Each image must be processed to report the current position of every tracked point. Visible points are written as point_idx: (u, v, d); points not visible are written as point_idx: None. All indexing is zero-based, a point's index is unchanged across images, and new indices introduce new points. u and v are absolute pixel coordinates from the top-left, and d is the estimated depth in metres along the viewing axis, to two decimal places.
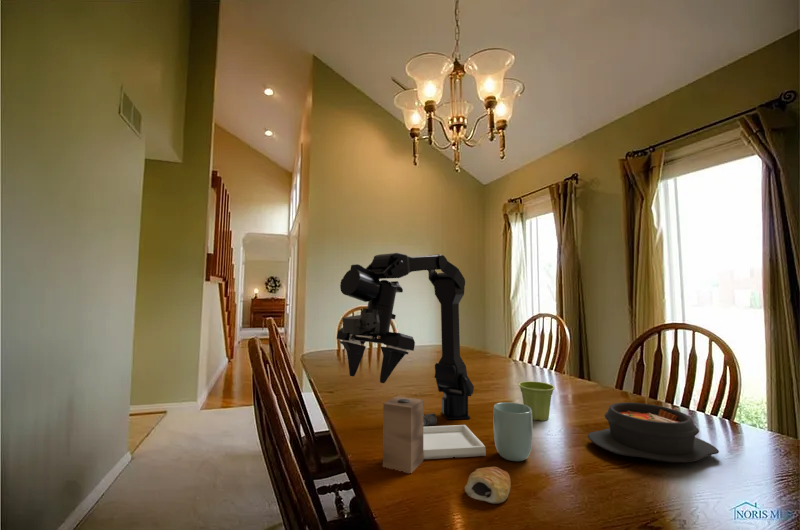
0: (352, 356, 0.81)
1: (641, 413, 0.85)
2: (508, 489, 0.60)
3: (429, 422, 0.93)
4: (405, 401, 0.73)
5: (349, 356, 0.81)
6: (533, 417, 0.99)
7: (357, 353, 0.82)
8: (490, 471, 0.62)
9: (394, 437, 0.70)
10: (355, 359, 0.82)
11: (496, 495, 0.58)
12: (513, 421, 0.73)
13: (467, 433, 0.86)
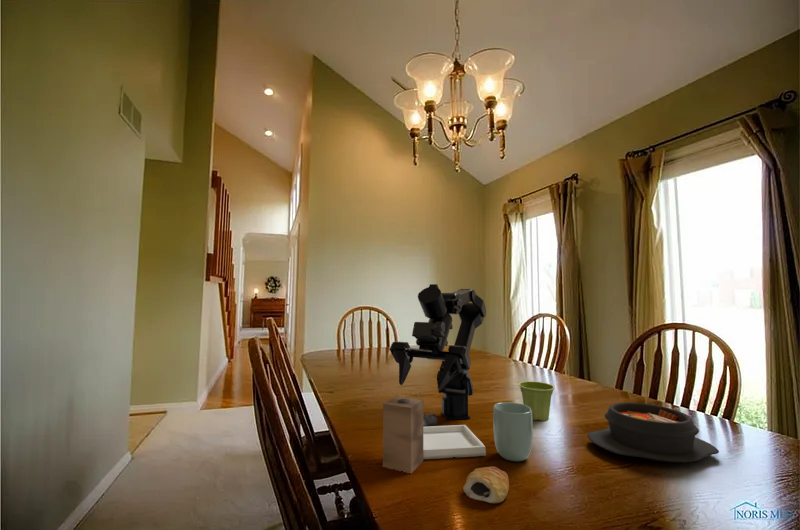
0: (404, 366, 0.85)
1: (641, 413, 0.85)
2: (507, 489, 0.61)
3: (429, 423, 0.93)
4: (405, 401, 0.73)
5: (401, 365, 0.85)
6: (533, 417, 0.99)
7: (406, 366, 0.86)
8: (489, 471, 0.63)
9: (394, 437, 0.70)
10: (405, 370, 0.85)
11: (495, 495, 0.58)
12: (513, 421, 0.73)
13: (467, 433, 0.86)
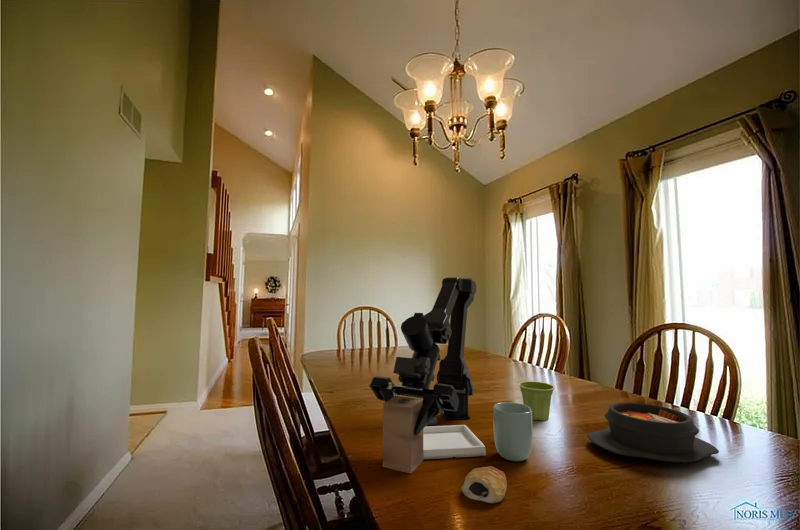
0: None
1: (641, 413, 0.85)
2: (505, 488, 0.61)
3: (429, 422, 0.93)
4: (405, 401, 0.73)
5: None
6: (533, 417, 0.99)
7: None
8: (487, 471, 0.63)
9: (394, 437, 0.70)
10: None
11: (493, 495, 0.58)
12: (513, 421, 0.73)
13: (467, 433, 0.86)
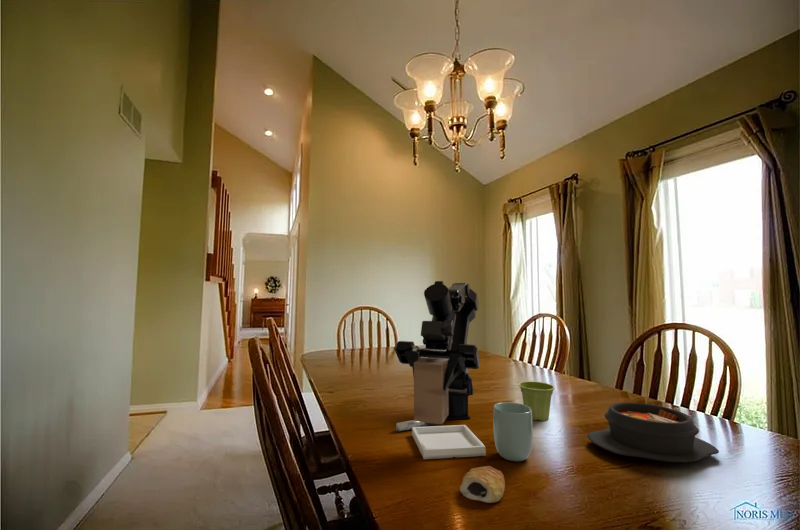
0: None
1: (641, 413, 0.85)
2: (503, 488, 0.61)
3: (429, 423, 0.93)
4: (433, 360, 0.79)
5: None
6: (533, 417, 0.99)
7: None
8: (485, 471, 0.63)
9: (425, 393, 0.76)
10: None
11: (491, 495, 0.58)
12: (513, 421, 0.73)
13: (467, 433, 0.86)
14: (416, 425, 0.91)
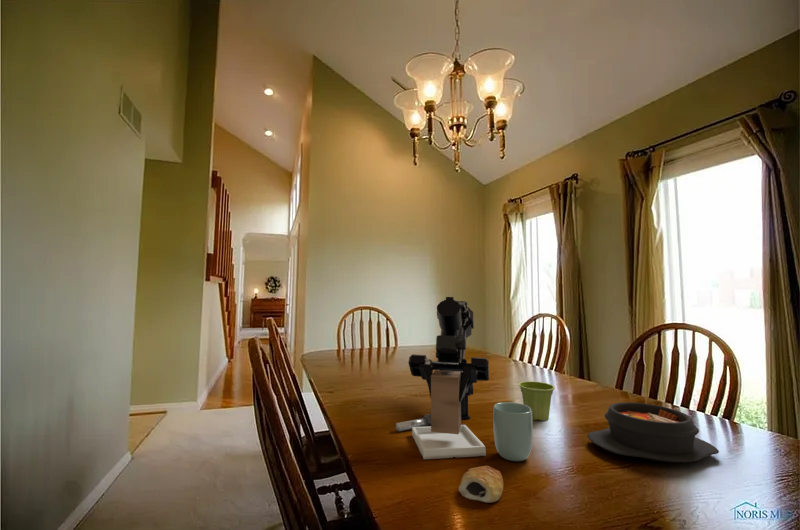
0: None
1: (641, 413, 0.85)
2: (501, 488, 0.61)
3: (429, 423, 0.93)
4: (448, 373, 0.83)
5: (429, 379, 0.85)
6: (533, 417, 0.99)
7: None
8: (483, 470, 0.63)
9: (442, 405, 0.80)
10: None
11: (490, 494, 0.58)
12: (513, 421, 0.73)
13: (467, 433, 0.86)
14: (416, 425, 0.91)
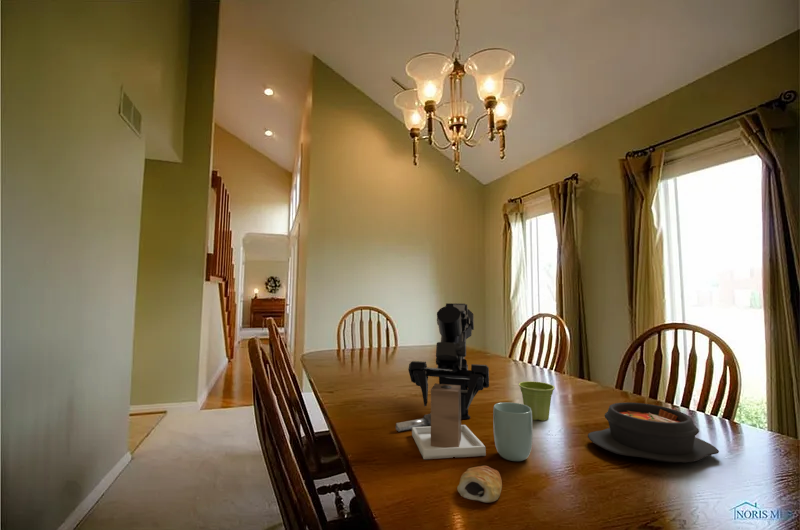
0: (426, 387, 0.85)
1: (641, 413, 0.85)
2: (500, 487, 0.61)
3: (429, 423, 0.93)
4: (448, 387, 0.83)
5: (423, 386, 0.85)
6: (533, 417, 0.99)
7: (426, 386, 0.87)
8: (482, 470, 0.63)
9: (442, 419, 0.80)
10: (426, 391, 0.85)
11: (489, 494, 0.58)
12: (513, 421, 0.73)
13: (467, 433, 0.86)
14: (416, 425, 0.91)
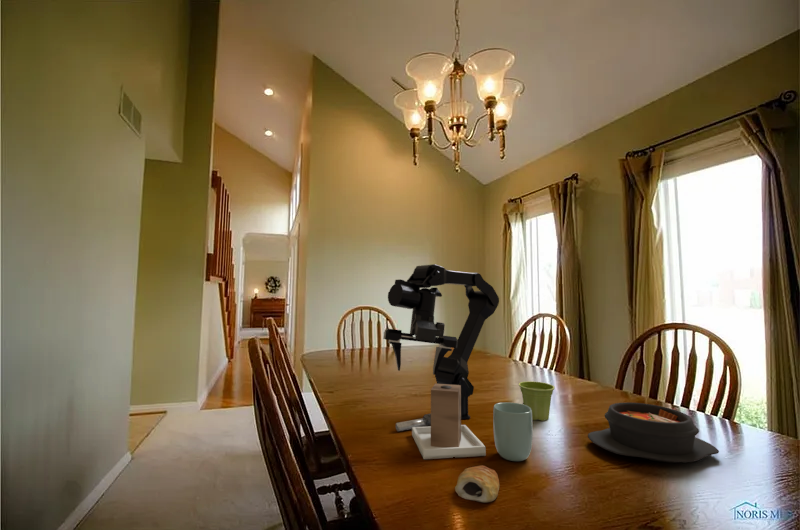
0: (400, 354, 0.93)
1: (641, 413, 0.85)
2: (498, 487, 0.61)
3: (429, 422, 0.93)
4: (448, 387, 0.83)
5: (398, 354, 0.93)
6: (533, 417, 0.99)
7: None
8: (479, 470, 0.63)
9: (442, 419, 0.80)
10: None
11: (487, 494, 0.59)
12: (513, 421, 0.73)
13: (467, 433, 0.86)
14: (416, 425, 0.91)
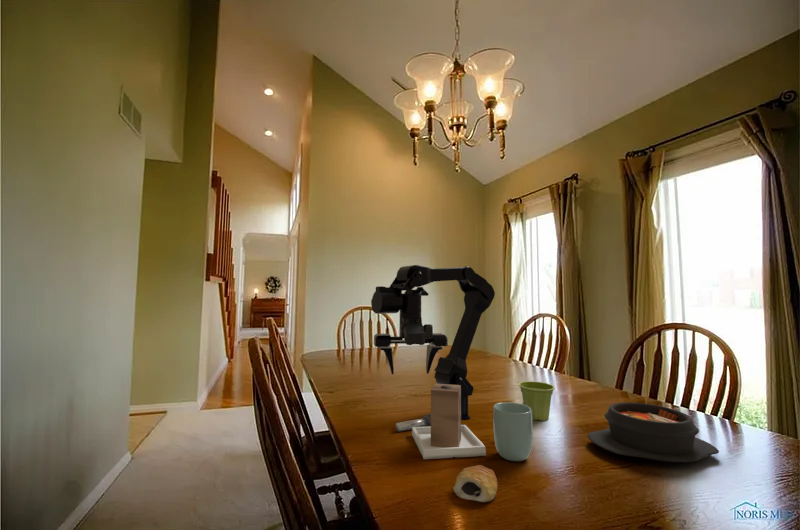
0: (392, 358, 0.94)
1: (641, 413, 0.85)
2: (496, 487, 0.61)
3: (429, 423, 0.93)
4: (448, 387, 0.83)
5: (390, 359, 0.93)
6: (533, 417, 0.99)
7: None
8: (478, 470, 0.63)
9: (442, 419, 0.80)
10: None
11: (486, 494, 0.59)
12: (513, 421, 0.73)
13: (467, 433, 0.86)
14: (416, 425, 0.91)
